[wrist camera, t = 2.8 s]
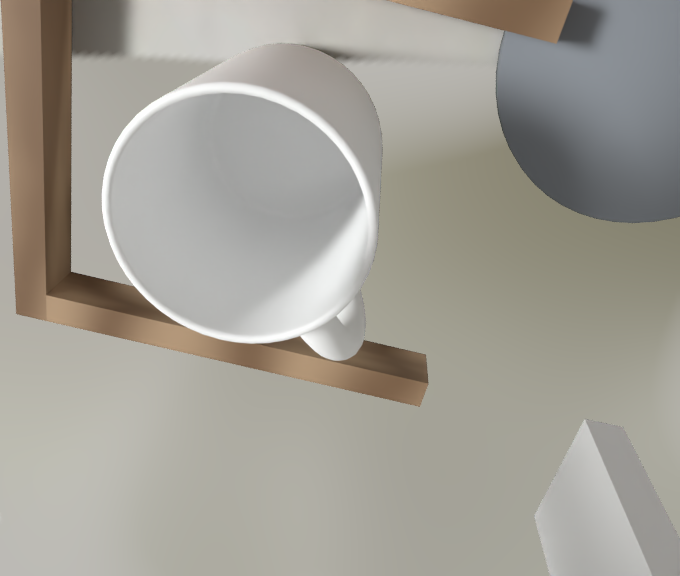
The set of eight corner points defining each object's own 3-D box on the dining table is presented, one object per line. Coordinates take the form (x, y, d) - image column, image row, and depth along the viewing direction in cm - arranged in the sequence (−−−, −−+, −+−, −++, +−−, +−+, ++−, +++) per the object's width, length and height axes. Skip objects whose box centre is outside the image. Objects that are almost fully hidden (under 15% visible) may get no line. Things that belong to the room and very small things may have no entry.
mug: (437, 255, 29) (459, 388, 20) (285, 309, 31) (241, 451, 22) (337, 4, 24) (303, 27, 15) (164, 89, 26) (43, 153, 17)
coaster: (454, 179, 27) (455, 184, 26) (571, -171, 21) (575, -175, 20) (726, 246, 27) (733, 252, 27) (921, -76, 21) (934, -78, 21)
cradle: (42, 289, 31) (16, 314, 29) (32, -140, 22) (-7, -152, 20) (417, 376, 32) (419, 406, 30) (556, -5, 23) (573, -1, 21)
